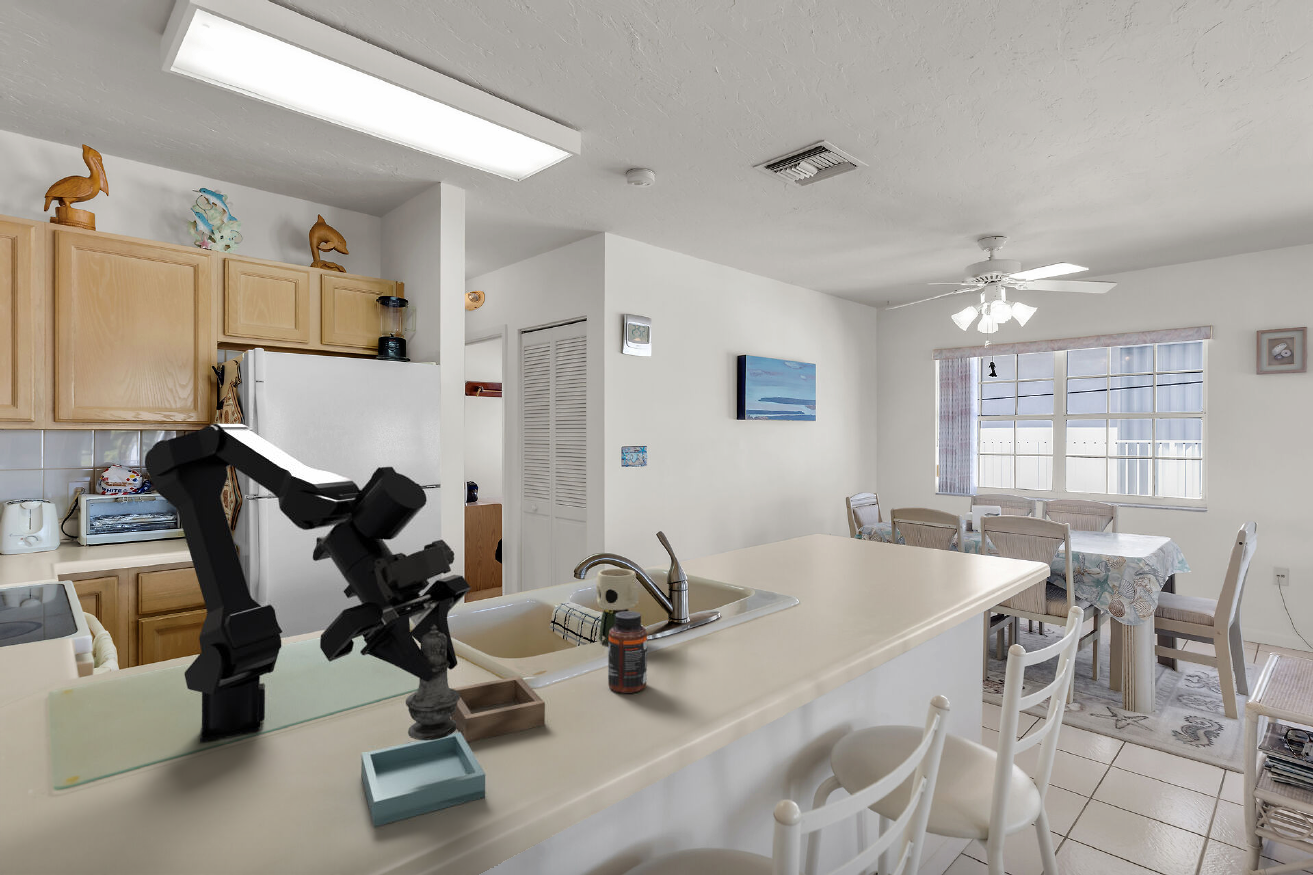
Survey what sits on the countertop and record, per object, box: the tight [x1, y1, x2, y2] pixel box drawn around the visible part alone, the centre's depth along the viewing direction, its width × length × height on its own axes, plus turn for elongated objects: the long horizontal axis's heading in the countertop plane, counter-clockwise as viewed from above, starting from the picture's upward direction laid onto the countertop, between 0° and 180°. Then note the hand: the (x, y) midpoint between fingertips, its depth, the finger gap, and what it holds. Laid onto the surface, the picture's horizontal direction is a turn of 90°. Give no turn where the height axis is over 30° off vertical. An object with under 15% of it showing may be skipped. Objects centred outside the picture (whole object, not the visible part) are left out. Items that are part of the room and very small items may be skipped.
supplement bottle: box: [607, 610, 648, 694], centre depth 102 cm, size 6×6×11 cm
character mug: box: [595, 568, 639, 644], centre depth 123 cm, size 11×7×13 cm, turn 46°
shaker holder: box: [450, 676, 546, 743], centre depth 90 cm, size 10×10×3 cm
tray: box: [360, 731, 486, 828], centre depth 73 cm, size 11×11×2 cm
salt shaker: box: [404, 624, 460, 741], centre depth 74 cm, size 6×6×12 cm
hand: (443, 672), depth 74 cm, fingers closed on salt shaker, 4 cm apart
